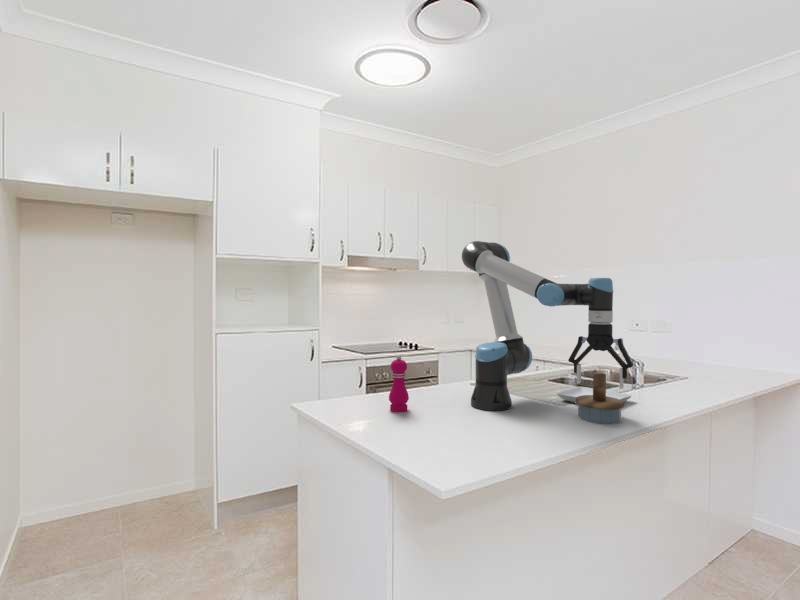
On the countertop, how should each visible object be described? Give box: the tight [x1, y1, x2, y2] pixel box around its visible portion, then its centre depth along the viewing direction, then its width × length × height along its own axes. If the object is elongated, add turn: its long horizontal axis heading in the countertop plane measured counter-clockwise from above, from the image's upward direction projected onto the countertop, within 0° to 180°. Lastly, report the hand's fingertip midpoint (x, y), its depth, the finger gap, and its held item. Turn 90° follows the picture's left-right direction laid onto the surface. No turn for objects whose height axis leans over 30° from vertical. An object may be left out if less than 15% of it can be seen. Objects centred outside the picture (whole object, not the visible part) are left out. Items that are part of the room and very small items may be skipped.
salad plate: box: [556, 386, 632, 403], centre depth 179 cm, size 21×21×3 cm
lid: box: [575, 372, 625, 409], centre depth 155 cm, size 15×15×10 cm
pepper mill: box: [388, 354, 410, 413], centre depth 166 cm, size 7×7×20 cm
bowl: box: [577, 404, 622, 425], centre depth 155 cm, size 13×13×5 cm
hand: (599, 385), depth 155 cm, fingers open, 13 cm apart
